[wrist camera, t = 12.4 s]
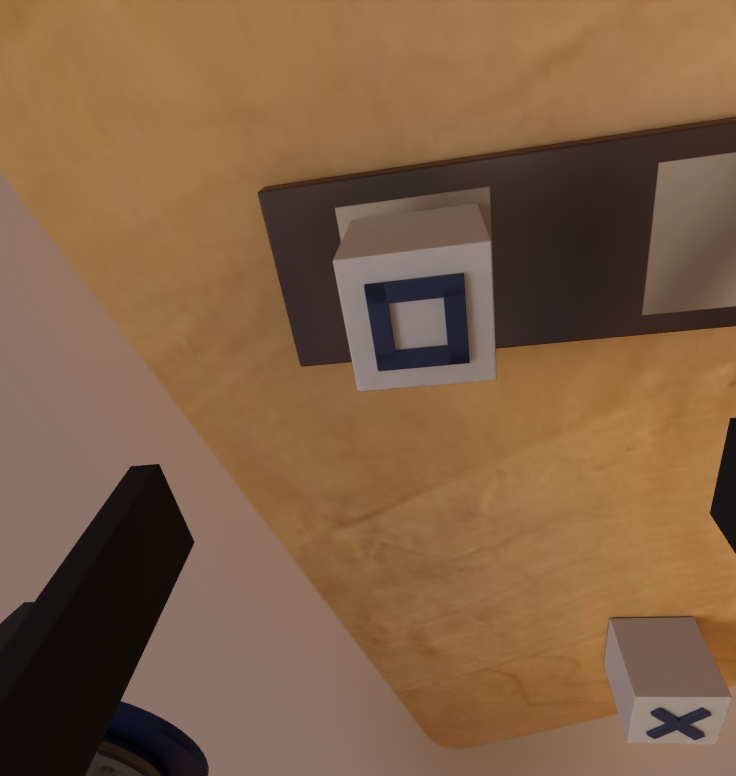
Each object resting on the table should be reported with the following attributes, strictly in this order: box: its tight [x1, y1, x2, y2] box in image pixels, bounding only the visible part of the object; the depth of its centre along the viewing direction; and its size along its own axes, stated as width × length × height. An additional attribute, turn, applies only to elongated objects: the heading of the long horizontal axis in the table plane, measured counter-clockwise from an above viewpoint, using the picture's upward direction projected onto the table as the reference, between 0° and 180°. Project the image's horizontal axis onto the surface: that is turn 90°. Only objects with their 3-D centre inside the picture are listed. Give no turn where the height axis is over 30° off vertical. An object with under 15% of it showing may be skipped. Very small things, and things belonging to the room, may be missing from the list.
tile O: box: [333, 203, 497, 392], centre depth 20 cm, size 5×5×5 cm
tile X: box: [604, 617, 732, 745], centre depth 33 cm, size 5×5×5 cm
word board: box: [258, 117, 736, 366], centre depth 22 cm, size 24×8×1 cm, turn 99°
